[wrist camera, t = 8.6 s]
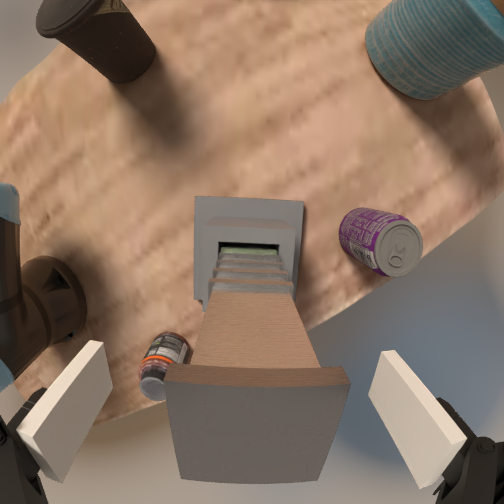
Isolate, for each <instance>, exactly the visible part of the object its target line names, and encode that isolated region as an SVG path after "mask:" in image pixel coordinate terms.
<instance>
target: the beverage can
mask: <svg viewBox="0 0 504 504" xmlns="http://www.w3.org/2000/svg"><path fill="white" fill-rule="evenodd" d="M339 240H340V243H341V245H342V247H343V249H344V250H345V251H346V252H347V253H348V254H350V255H351V256H353V257H354V258H356V259H357V260H358V261H360V262H361V263H363V264H364V265H366V266H367V267H369V268H370V269H372V270H373V271H375V272H376V273H378V274H380V275H383V276H392V277H401V276H404V275H406V274H408V273H409V272H411V271H412V270H413V269H414V268H415V267H416V265H417V264H418V262H419V260H420V258H421V255H422V250H423V241H422V237H421V234H420V232H419V230H418V229H417V227H416V226H415V225H413V224H412V223H411V222H410V221H409V220H408V219H407V218H405V217H403V216H401V215H397V214H393V213H388V212H383V211H379V210H374V209H369V208H357V209H354V210H352V211H350V212H349V213H348V214H347V215H346V216H345V217H344V219H343V220H342V222H341V225H340V228H339Z"/></svg>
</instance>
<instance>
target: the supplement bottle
mask: <svg viewBox="0 0 504 504" xmlns="http://www.w3.org/2000/svg"><path fill="white" fill-rule="evenodd" d="M188 356H189V346H188V344H187V342H186V340H185V339H184V338H183V337H181V336H180V335H178V334H176V333H173V332H164V333H161V334H159V335H158V336H157V337H156V338H155V339H154V341H153V343H152V344H151V346H150V348H149V350H148V352H147V354H146V355H145V357H144V359H143V361H142V363H141V365H140V367H139V372H138V373H139V378H140V385H139V386H140V390H141V392H142V393H143V394H144V395H145V396H146V397H147V398H149V399H151V400H154V401H162V400H165V399H166V395H165V388H164V381H163V380H164V378H165V375H166V372H167V370H168V367H169V365H170V362H172V363H182V364H186V363H187V360H188Z"/></svg>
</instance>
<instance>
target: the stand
mask: <svg viewBox="0 0 504 504" xmlns="http://www.w3.org/2000/svg"><path fill="white" fill-rule="evenodd" d="M303 206H304V202H303V201H291V200H276V199H259V198H238V197H212V196H195V216H194V299H196V300H203V312H206V308H207V305H208V281H209V279H210V278H213V268H216V260H217V259H219V253H221V248H222V247H226V246H240V247H262V248H271V249H276V250H277V255H279V256H280V262H283V264H284V266H283V271H287V272H288V281H287V282H292V283H293V285H294V289H293V301H294V304H295V298H296V288H297V278H298V268H299V257H300V245H301V233H302V220H303Z"/></svg>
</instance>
